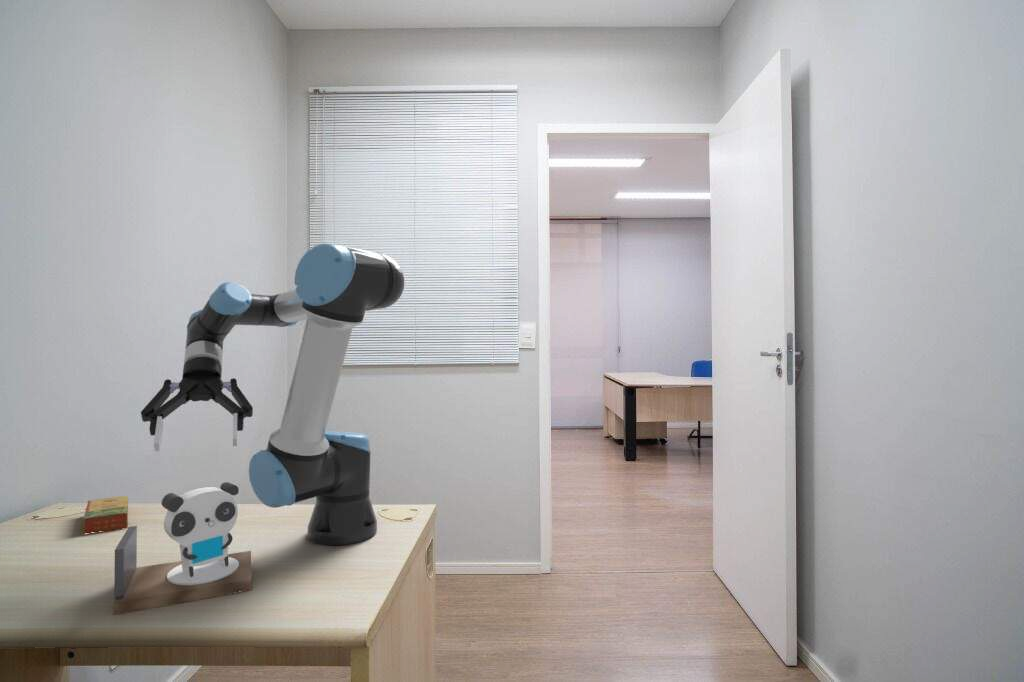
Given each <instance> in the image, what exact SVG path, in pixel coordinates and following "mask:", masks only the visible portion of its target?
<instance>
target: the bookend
mask: <svg viewBox="0 0 1024 682" xmlns="http://www.w3.org/2000/svg"><path fill="white" fill-rule="evenodd" d="M137 537H138V526H137V525H133V526H128V528H126V531H125V533H124V534H123V536H121V539H120V541H119V542H118V544H117V545H116V547H115V549H114V582H113V583H114V585H113V586H114V591H113V592H114V597H113V599H114V600H115V599H121V598H124V596H125V593H126V591H127V589H128V587H129V585H130V583H131V580H132V578H133V576H134V574H135V572H136V569H137V568H138V567H137V563H138V561H137V555H138V554H137V553H138V551H137V548H138V542H137V541H138V539H137ZM114 600H113V601H114Z"/></svg>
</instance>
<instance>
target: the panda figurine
mask: <svg viewBox="0 0 1024 682" xmlns="http://www.w3.org/2000/svg"><path fill="white" fill-rule="evenodd" d="M238 494H239V487H238V486H237V485H235V484H234V483H231V482H229V481H226V482H223V483H221V484H220V488H219V487H214V486H208V487H200V488H195V489H191V490H189V491H187V492H185V493H182V494H181V495H180V496H179V495H177V494H175V493H173V492H170V493H167V494H165V495H164V496H163V498H162V499H161V506H162V507H163V508H164V509H166V510H167V511H166V513H165V516H164V520H163V529H164V531H165V533H166V535H167V536H168V537H169V538H170V539H172V540H173V541H175V542H176V543H177V544H179V550H180V559H181V560H180V561H181V562H182V564H181V565H179V566H177V567H175V568H173V569H172V570H171V571H169V573H168V574H167V580H168V581H169V582H170V583H173V584H177V585H196V584H203V583H208V582H212V581H215V580H218V579H221V578H224V577H226V576H228V575H230V574H232V573H233V572H235V571H236V570H237V569H238V567H239V562H238V560H236V559H234V558H231V557H228V554H229V549H228V548H229V546H230V545H231V544H232V542H233V535H232V534H231V533H230V532H231V531H232V530H233V528H234V526H235V525H236V522H237V519H238V515H239V514H238V512H239V510H238V505H237V502H236V499H235V497H234V496H237V495H238Z"/></svg>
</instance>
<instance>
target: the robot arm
mask: <svg viewBox="0 0 1024 682" xmlns="http://www.w3.org/2000/svg"><path fill="white" fill-rule="evenodd" d="M294 272H295V274H294V285H295V286H296V288H295V289H293V290H289V291H284V292H281V293H278V294H277V293H276V294H273V295H272V294H271V295H268V294H267V295H264V294H254V293H251V292H250V291H249V290H248V289H247V288H246V287H245V286H243V285H241V284H240V285H239V284H237V283H236V282H234V281H225V282H223V283H220V284H219V286H218V287H217V288H215V290H214V292H212V293H211V295H210V296H209V299H208V300H207V301H206V303H205V305H204V306H203V308H202V309H199V310H198V311H195V312H193V313H192V314H191V315H190V317H189V320H188V323H187V326H186V332H187V333H186V341H185V351H184V359H183V368H182V378H181V380H180V381H179V382H172V380H171V379H168V378H167V379H165V380H164V382H163V385H162V387H161V388H160V390H159V391H158V392H157V393H156V394H155V395H154V396H153V398H151V400H150V401H149V402H148V404H146V406H144V408H143V409H142V410H141V411H140V417H141V420H142V422H144V423H145V422H146V423H147V422H150V424H149V428H148V430H149V434H150V436H152V437H153V436H154V437H153V447H154V451H155V452H160V450H161V443H162V434H163V427H164V421H163V420H164V419H165V418H167V417H168V416H169V415H171V414H172V413H173V412H175V411H176V410H177V409H178V408H180V407H181V406H182V405H186V404H187V403H189V402H190V401H192V402H199V401H202V402H209V401H210V400H212V401H213V402H214V403H216V404H219V405H220V406H221V407H223V409H225V410H226V411H227V412H229V413H230V414H231V415H232V417H233V420H232V421H233V424H232V447H238V432H242V431H243V430H244V419H245V418H251V417H252V416H253V415H254V413H253V411H254V409H253V406H252V404H251V403H250V402H249V401H248V399H247V397H246V396H245V394H244V393H243V392H242V391H241V389H240V387H239V385H238V383H237V379H236V378H230V380H229V381H223V380H222V371H223V368H222V366H223V365H222V364H223V349H224V348H223V347H224V341H225V338H226V337H227V336H228V334H230V333H231V332H232V330H233V328H234V327H236V326H266V327H267V326H268V327H278V328H282V327H284V328H285V327H292V326H295V325H296V324H297V322H299V321H303V320H305V322H306V323H305V328H304V331H303V334H302V338H301V343H300V347H299V351H298V355H297V359H296V362H295V367H294V371H293V375H292V379H291V383H290V387H289V391H288V396H287V399H286V403H285V407H284V411H283V416H282V419H281V424H280V427H279V428H277V429H276V430H274V431H272V432H271V433H270V435H269V439H268V442H267V447H266V449H261V450H259V451H258V452H256V453H254V454H253V455H252V456H251V458H250V461H249V466H248V478H249V482H250V485H251V486H250V487H251V488H252V490H253V493H254V495H255V496H256V498H257V499H258V500H259V501H260V503H262V504H263V505H265V507H269V508H276V509H277V508H281V507H285V506H287V507H288V506H292V505H294V504H295V503H300V502H303V501H306V500H309V499H313V498H315V503H314V507H313V510H312V513H311V516H310V518H309V522H308V525H307V539H308V540H309V541H310V542H311V543H315V544H318V545H325V546H341V545H350V544H355V543H360V542H363V541H365V540H367V539H370V538H372V537H373V536H374V535H376V533H377V532H378V520H377V516H376V514H375V510H374V507H373V505H372V501H371V498H370V483H371V482H370V481H371V480H370V479H371V454H372V452H371V450H370V449H371V448H370V445H371V443H370V438H369V436H368V435H366V434H364V433H362V432H361V433H360V432H353V431H341V430H340V431H336V430H334V431H331V430H329V431H328V430H327V427H328V423H329V417H330V415H331V411H332V407H333V403H334V400H335V395H336V392H337V388H338V385H339V381H340V376H341V374H342V369H343V366H344V362H345V358H346V353H347V350H348V346H349V342H350V339H351V334H352V331H353V329H354V328H355V327H357V326H359V325H360V324H362V323H363V320H364V317H365V313H366V311H367V312H368V311H374V310H379V309H380V310H382V309H386V308H389V307H391V306H392V305H394V304H395V303H396V302H397V301H398V300H399V299H400V298H401V296H402V294H403V291H404V289H405V277H404V273H403V270H402V268H401V266H400V265H399V264H398V262H396V261H395V260H394V259H393V258H392V257H390V256H389V255H386V254H384V253H381V252H375V251H371V250H365V249H360V248H355V247H352V246H348V245H346V244H345V245H343V244H340V243H339V244H332V243H320V244H317V245H314V246H313V247H312V248H310V249H308V250H307V251H306V252H305V253H304V254H303V256H302V257H301V258H300V260H299V262H298V264H297V266H296V269H295V271H294ZM223 389H226V391H228V392H229V393H231V395H232V397H233V399H234V400H235V401H233V400H232V399H231V398H229V396H227V395H226V394H225V393H223ZM176 390H179V391H178V392H177V394H176V395H174V396H173V397H171V398H170V399H169V400H168V398H169V397H170V395H171V394H174V393H175V391H176ZM167 400H168V401H167ZM235 402H237V403H235Z"/></svg>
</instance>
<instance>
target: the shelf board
mask: <svg viewBox="0 0 1024 682" xmlns="http://www.w3.org/2000/svg"><path fill="white" fill-rule="evenodd" d="M228 557H231V558H234V559H236V560H238V562H239V567H238V569H237V570H236V571H235V572H233V573H232V574H230V575H228V576H226V577H224V578H221V579H218V580H215V581H212V582H208V583H203V584H196V585H177V584H173V583H170V582H169V581H168V580H167V574H168V573H169V571H171V570H172V569H173V568H175V567H177V566H179V565H181V564H182V562H181V560H178V561H173V562H165V563H159V564H152V565H146V566H138V567H137V569H136V572H135V574H134V576H133V578H132V580H131V583H130V585H129V587H128V589H127V591H126V593H125V596H124V598H121V599H115V600H113V602H112V616H113V615H120V614H124V613H125V614H126V613H130V612H136V611H140V610H141V611H142V610H147V609H152V608H153V609H154V608H159V607H160V608H161V607H164V606H165V607H166V606H170V605H174V604H175V605H177V604H182V603H186V602H192V601H198V600H203V599H204V598H205V599H210V598H215V597H214V596H216V597H220V596H219V595H222V596H226V595H225V594H227V595H230V594H229V593H233V594H235V593H234V592H239V591H244V590H250V591H252V590H253V576H252V575H253V573H252V572H253V571H252V568H253V567H252V550H248V551H247V550H246V551H239V552H234V553H228ZM251 589H252V590H251ZM244 592H245V591H244ZM239 593H240V592H239ZM209 597H210V598H209ZM205 599H204V600H205Z"/></svg>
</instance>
